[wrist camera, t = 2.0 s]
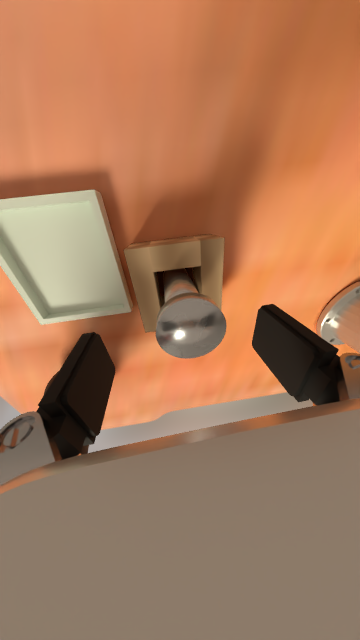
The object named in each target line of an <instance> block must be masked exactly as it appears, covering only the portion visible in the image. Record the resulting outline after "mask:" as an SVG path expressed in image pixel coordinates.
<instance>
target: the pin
mask: <svg viewBox="0 0 360 640" xmlns="http://www.w3.org/2000/svg"><path fill="white" fill-rule="evenodd" d="M163 283H164V298H165V304H164V305H163V306H162V307H161V309H160V310H159V312H158V315H157V319H156V338H157V341H158V343H159V345H160V346H161V348H162V349H163V350H164V351H165V352H167V353H168V354H170V355H172V356H175V357H179V358H196V357H200V356H203V355H205V354H207V353H209V352H211V351H212V350H213V349H215V348H216V347H217V346H218V345H219V344H220V342H221V341H222V339H223V337H224V335H225V332H226V320H225V317H224V315H223V313H222V312H221V310H220V309H219V307H218V306H217V304H216V303H215V302H214V301H213V300H212V299H211V298H209V297H208V296H206V295H204V294H200V293H198V291H197V289H196V288H195V286H194V284H193V282H192V280H191V279H190V277H189V275H188V273H187V271H186V270H185V268H181V269H174V270H166V271H164V274H163Z"/></svg>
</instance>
